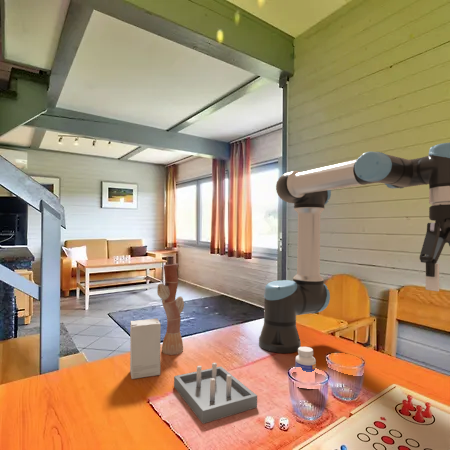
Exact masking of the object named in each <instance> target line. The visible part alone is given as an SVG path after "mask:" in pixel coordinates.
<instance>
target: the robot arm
mask: <svg viewBox="0 0 450 450" xmlns="http://www.w3.org/2000/svg"><path fill="white" fill-rule="evenodd" d="M372 184H384V185H385V186H386V187H387V188H388V189H393V190H394V189H404V188H411V187H418V186H424V185H428V189H429V191H428V194H429V195H428V198H429V199H428V203H429V205H431V206H430V207H428V210H429V212H428V214H429V215H428V218H429V220H430V221H435V222H427V225H426V233H425V236H424V240H423V242H422V247H421V251H420V255H419V260H420V263H423V264H424V263H425V290H426V291H433V292H440V263H438V261H439V259H440V256H441V254H442V252H443V249H444V248H445V245H446V243H447V244H448V246H449V247H450V142H443V143H438V144H435V145H432V146H431V147H430V148H429V151H428V155H425V156H423V157H417V158H413V159H411V158H410V159H408V158H407V159H406V158H403V157H401V156H400V157H398V156H394V155H391V154H387V153H385V152H384V153H383V152H382V151H381V152H380V151H366V152H364V153H362V154H361V155H360V156H358V158H357V159H351V160H347V161H343V162H339V163H335V164H331V165H327V166H322V167H317V168H313V169H309V170H306V171H300V170H292V171H287V172H285V173H284V174H282V175H281V176H279V178H278V179H277V181H276V185H275V189H276V190H275V191H276V193H277V196H278V197H279V198H280V199H281V200H282V201H284V202H285V203H289V204H294V205H293V210H294V211H295V212H296V213H297V247H296V248H297V253H296V254H297V255H296V256H297V257H296V258H297V262H296V263H297V264H296V266H297V267H296V274H295V275H294V276H293V278H292V280H289V279H283V280H274V281H270V282H268V283H267V284H265V286H264V294H263V297H264V300H263V301H264V303H263V305H264V307H263V310H264V311H263V312H264V313H263V314H264V315H263V326H262V327H261V328H262V329H261V332H260V335H259V337H258V345H259V348H261V349H263V350H266V351H268V352H271V353H276V354H277V353H278V354H291V353H296V352H298V348H299V347H302V346H301V339H300V335H299V331H298V328H297V316H302V315H308V314H309V315H310V314H317V313H320V312H323V311H324V310H325V309H327V307H328V305H329V304H330V300H331V292H330V290H329V288H328V285H326V284H325V283H324V280H325V279H324V278H323V277H322V276H321V269H320V268H321V257H320V256H321V214H322V212H324V211H325V205H327V204H328V203H329V200H330V199H331V197H332V196H331V195H332V190H337V189H345V188H350V187H358V186H362V185H363V186H364V185H372Z"/></svg>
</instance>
